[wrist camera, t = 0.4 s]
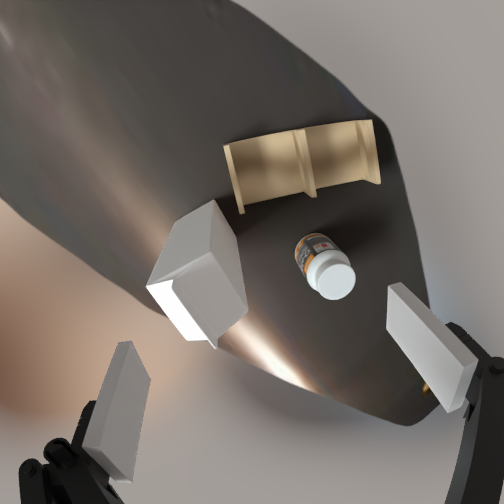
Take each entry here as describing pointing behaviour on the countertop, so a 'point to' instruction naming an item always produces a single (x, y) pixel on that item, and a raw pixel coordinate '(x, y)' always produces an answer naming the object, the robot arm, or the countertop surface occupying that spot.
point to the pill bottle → (325, 266)
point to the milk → (200, 276)
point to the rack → (302, 161)
